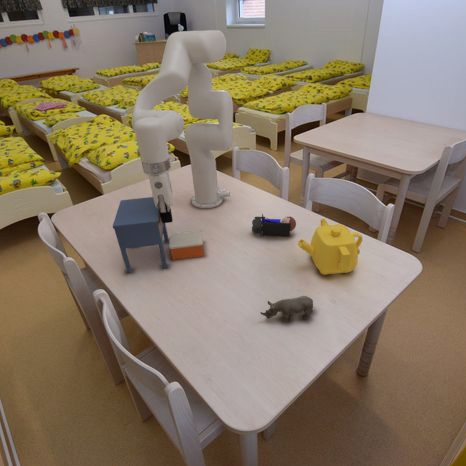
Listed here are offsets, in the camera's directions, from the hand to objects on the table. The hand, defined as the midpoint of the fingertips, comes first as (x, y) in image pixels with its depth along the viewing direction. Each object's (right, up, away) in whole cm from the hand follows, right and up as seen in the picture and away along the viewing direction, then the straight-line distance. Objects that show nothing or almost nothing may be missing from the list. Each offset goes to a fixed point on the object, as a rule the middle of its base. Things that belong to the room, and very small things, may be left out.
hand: (167, 221), depth 103 cm
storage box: (+5, -10, +7) cm, 13 cm away
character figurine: (+34, -4, +13) cm, 37 cm away
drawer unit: (-7, -11, +6) cm, 14 cm away
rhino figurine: (+34, -25, -18) cm, 46 cm away
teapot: (+48, -13, -1) cm, 50 cm away
